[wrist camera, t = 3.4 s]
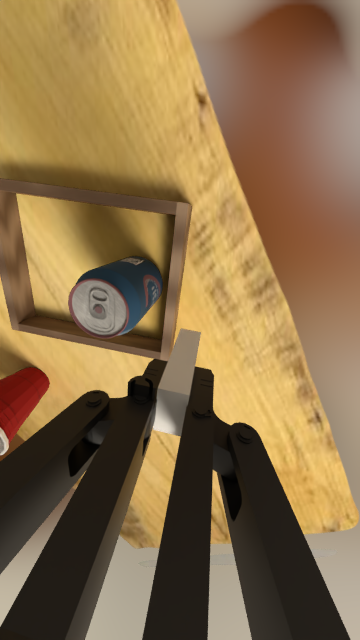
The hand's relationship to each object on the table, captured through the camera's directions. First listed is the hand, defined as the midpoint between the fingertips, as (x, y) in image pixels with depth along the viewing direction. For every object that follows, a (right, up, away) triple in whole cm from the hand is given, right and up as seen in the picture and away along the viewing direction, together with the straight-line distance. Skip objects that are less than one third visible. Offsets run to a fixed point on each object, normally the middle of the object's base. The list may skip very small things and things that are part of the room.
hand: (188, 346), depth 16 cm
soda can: (-6, +8, +14) cm, 17 cm away
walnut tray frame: (-12, +9, +15) cm, 21 cm away
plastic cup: (-29, -9, +26) cm, 40 cm away
